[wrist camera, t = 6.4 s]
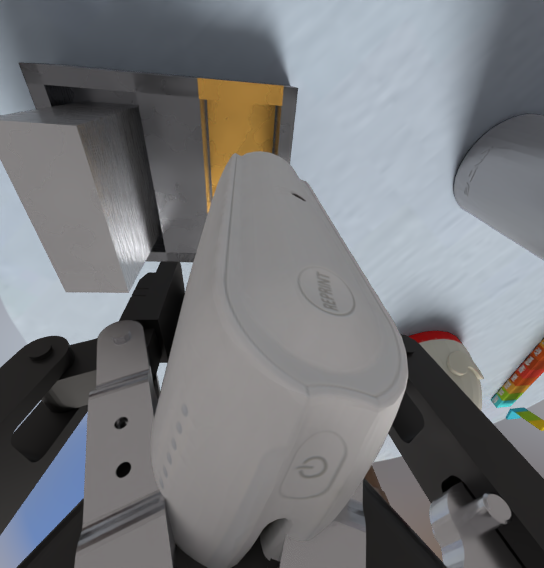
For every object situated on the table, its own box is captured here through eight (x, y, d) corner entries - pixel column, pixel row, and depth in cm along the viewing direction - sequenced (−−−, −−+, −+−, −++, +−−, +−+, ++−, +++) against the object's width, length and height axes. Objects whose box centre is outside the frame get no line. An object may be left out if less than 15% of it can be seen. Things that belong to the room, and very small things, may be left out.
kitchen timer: (412, 322, 40) (484, 428, 28) (479, 340, 44) (566, 440, 32) (359, 376, 47) (397, 477, 35) (420, 388, 51) (473, 482, 39)
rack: (290, 84, 21) (321, 93, 13) (275, 243, 30) (287, 313, 21) (54, 63, 19) (-99, 55, 11) (110, 239, 28) (50, 313, 19)
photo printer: (227, 130, 11) (127, 480, 2) (318, 168, 13) (573, 496, 3) (181, 306, 17) (98, 620, 7) (247, 320, 18) (251, 605, 8)
